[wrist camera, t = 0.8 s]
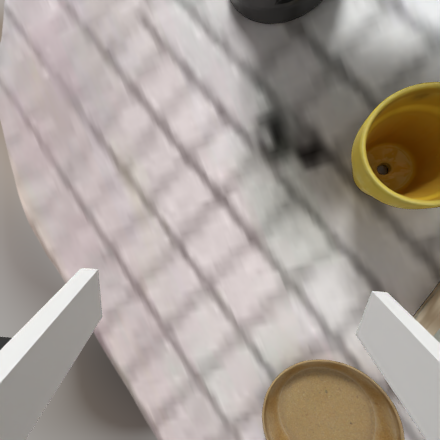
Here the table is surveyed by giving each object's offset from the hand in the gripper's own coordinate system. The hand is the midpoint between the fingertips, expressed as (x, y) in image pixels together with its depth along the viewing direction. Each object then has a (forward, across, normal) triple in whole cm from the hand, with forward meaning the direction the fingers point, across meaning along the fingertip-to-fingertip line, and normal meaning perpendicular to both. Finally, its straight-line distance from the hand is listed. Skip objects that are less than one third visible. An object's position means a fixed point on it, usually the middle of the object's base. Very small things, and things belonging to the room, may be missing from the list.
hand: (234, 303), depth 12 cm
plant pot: (+20, +18, +5) cm, 27 cm away
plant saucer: (+10, +14, -23) cm, 29 cm away
